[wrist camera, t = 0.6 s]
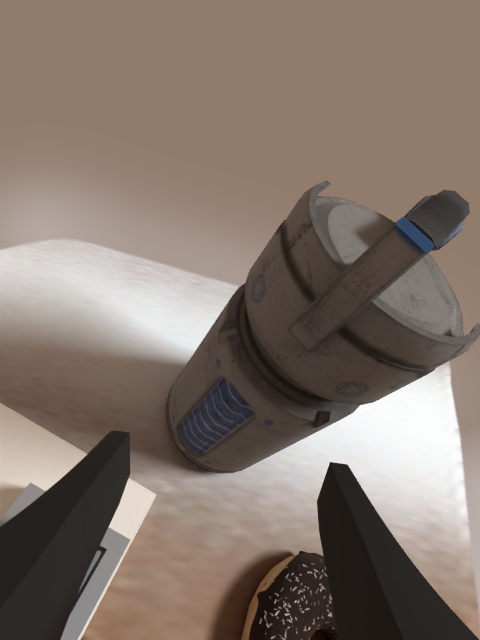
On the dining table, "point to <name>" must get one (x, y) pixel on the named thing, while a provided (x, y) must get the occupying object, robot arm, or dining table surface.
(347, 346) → the beverage bottle
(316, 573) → the donut
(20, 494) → the panel
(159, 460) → the dining table surface
